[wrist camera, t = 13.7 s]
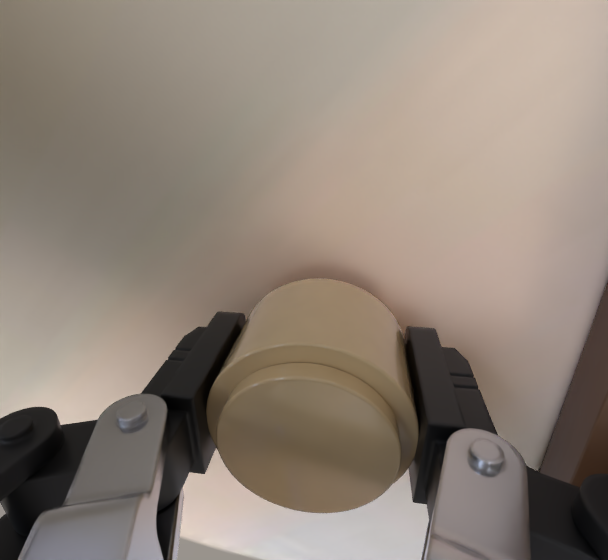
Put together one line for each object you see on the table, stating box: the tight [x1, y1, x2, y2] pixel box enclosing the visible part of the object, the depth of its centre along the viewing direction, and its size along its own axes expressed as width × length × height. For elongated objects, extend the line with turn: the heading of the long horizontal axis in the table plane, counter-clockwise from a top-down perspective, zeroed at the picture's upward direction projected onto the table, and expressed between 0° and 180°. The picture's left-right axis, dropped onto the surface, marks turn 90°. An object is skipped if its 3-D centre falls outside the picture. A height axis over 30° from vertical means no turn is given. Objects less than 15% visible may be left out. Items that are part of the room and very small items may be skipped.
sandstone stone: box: [206, 278, 419, 513], centre depth 9 cm, size 5×5×4 cm
